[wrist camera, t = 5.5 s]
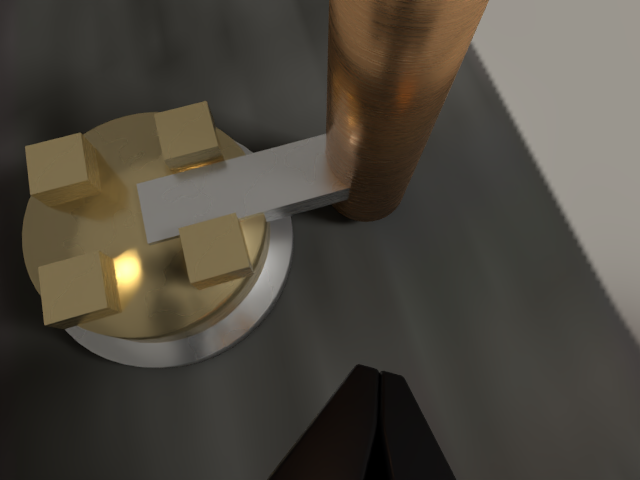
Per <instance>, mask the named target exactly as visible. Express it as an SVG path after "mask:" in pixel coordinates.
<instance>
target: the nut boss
mask: <svg viewBox="0 0 640 480" xmlns="http://www.w3.org/2000/svg"><path fill="white" fill-rule="evenodd" d="M235 142H236V141H235ZM236 143H237V144H238V145H239V146H240V147H241V148H242V150H243V151H244V152H245V154H246V155H248V154H252V153H253V152H251V151H250V150H249V149H247V148H246V147H245V146H243V145H241V144H239V143H238V142H236ZM270 231H271V232H270V245H269V250H268V255H267V259H266V262H265V264H264V267H263V270H262V272H261V274H260V276H259V278H258V280H257V282H256V284H255V286H254V287H253V288H252V290H251V291H250V293H249V294H248V296H247V297H246V298H245V299H244V300H243V302H242V303H241V304H240V305H239V306H238V307H237V308H236V309H235V310H234V311H233V312H231V313H230V314H229V315H228V316H227V317H226V318H224V319H223V320H221V321H220V322H218V323H217V324H216V325H214V326H212V327H210V328H208V329H207V330H205V331H203V332H201V333H198V334H196V335H193V336H190V337H188V338H185V339H180V340H176V341H172V342H163V343H139V342H133V341H128V340H123V339H119V338H114V337H110V336H106V335H101V334H98V333H94V332H91V331H88V330H85V329H83V328H81V327H79V326H74V327H71V328H67V329H65V330H66V332H67V333H68V334H70V335H71V336H72V337H73V338H74V339H75V340H76V341H77V342H78V343H80V344H81V345H82V346H84V347H85V348H87V349H88V350H90V351H91V352H93V353H95V354H97V355H99V356H101V357H104V358H106V359H108V360H111V361H115V362H118V363H121V364H125V365H131V366H138V367H146V368H175V367H184V366H189V365H192V364H196V363H200V362H203V361H206V360H208V359H211V358H214V357H216V356H218V355H220V354H222V353H224V352H226V351H227V350H229V349H231V348H233V347H234V346H236V345H237V344H239V343H240V342H241V341H243V340H244V339H245V338H247V337H248V336H249V335H250V334H251V333H252V332H253V331H254V330H255V329H256V328H257V327H259V326H260V324H261V323H262V322H263V321H264V320H265V318H266V317H267V316H268V315H269V314H270V312H271V311H272V309H273V308H274V306H275V304H276V303H277V301H278V300H279V298H280V296H281V293H282V291H283V289H284V287H285V285H286V282H287V279H288V276H289V273H290V269H291V264H292V258H293V244H294V238H293V228H292V221H291V216H287V217H283V218H280V219H276V220H273V221H270Z"/></svg>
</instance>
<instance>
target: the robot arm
mask: <svg viewBox="0 0 640 480" xmlns="http://www.w3.org/2000/svg"><path fill="white" fill-rule="evenodd" d="M267 480H456V478H455V476H454V474H453V472H452V470H451V468H450V466H449V464H448V463H447V461H446V459H445V457H444V455H443V453H442V451H441V449H440V447H439V445H438V443H437V441H436V439H435V437H434V435H433V433H432V431H431V429H430V427H429V425H428V423H427V421H426V419H425V417H424V415H423V414H422V412H421V410H420V408H419V406H418V404H417V402H416V400H415V398H414V396H413V394H412V392H411V390H410V388H409V386H408V384H407V382H406V380H405V379H404V377H403V376H401V375H397V374H394V373H390V372H386V371H381V372H380V373H379V371H378V370H377V369H375V368H371V367H368V366H364V365H360V364H358V365H356V366H354V368H353V369H352V370H351V372H350V373H349V374H348V375H347V377H346V378H345V379H344V381H343V382H342V383H341V385H340V386H339V387H338V388H337V390H336V391H335V392H334V394H333V395H332V396H331V397H330V399H329V400H328V401H327V403H326V404H325V405H324V406H323V408H322V409H321V410H320V412H319V413H318V414H317V416H316V417H315V418H314V419H313V421H312V422H311V423H310V425H309V426H308V427H307V428H306V430H305V431H304V432H303V434H302V435H301V436H300V438H299V439H298V440H297V441H296V443H295V444H294V445H293V447H292V448H291V449H290V450H289V452H288V453H287V454H286V456H285V457H284V458H283V460H282V461H281V462H280V463H279V465H278V466H277V467H276V469H275V470H274V471H273V472H272V474H271V475H270V476H269V478H268V479H267Z"/></svg>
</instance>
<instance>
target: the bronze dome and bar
mask: <svg viewBox="0 0 640 480" xmlns="http://www.w3.org/2000/svg"><path fill="white" fill-rule="evenodd" d="M488 1H489V0H329V33H328V75H327V118H326V134H324V135H320V136H316V137H312V138H308V139H305V140H301V141H297V142H293V143H290V144H286V145H282V146H278V147H274V148H271V149H267V150H263V151H259V152H256V153H252V154H248V155H246V154H245V152H244V151H243V150H242V148H241V147H240V146H239V145H238V144H237V143H236V142H235V141H234V140H233V139H232V138H230V137H229V136H228V135H227V134H225V133H224V132H223V131H221V130H220V129H218V128H216V126H215V123H214V119H213V116H212V113H211V111H210V108H209V106H208V103H207V101H204V102H200V103H196V104H192V105H188V106H184V107H180V108H176V109H172V110H168V111H164V112H150V113H139V114H134V115H129V116H124V117H121V118H118V119H114V120H111V121H109V122H106V123H104V124H102V125H99V126H97V127H95V128H94V129H92V130H90V131H88V132H86V133H85V134H83V135H82V134H81V133H77V134H73V135H69V136H65V137H61V138H57V139H53V140H49V141H45V142H41V143H37V144H33V145H29V146H25V150H26V159H27V169H28V178H29V187H30V195H31V197H30V199H29V202H28V204H27V208H26V212H25V216H24V221H23V229H22V249H23V255H24V261H25V265H26V268H27V271H28V274H29V277H30V279H31V281H32V283H33V284H34V286H35V288H36V290H37V292H38V293H39V294H40V296H41V299H42V308H43V318H44V325H45V326H49V327H54V328H59V329H63V330H64V329H67V328H71V327H74V326H79V327H81V328H83V329H85V330H88V331H91V332H94V333H98V334H101V335H106V336H110V337H114V338H119V339H123V340H128V341H133V342H139V343H163V342H172V341H176V340H180V339H185V338H188V337H190V336H193V335H196V334H198V333H201V332H203V331H205V330H207V329H208V328H210V327H212V326H214V325H216V324H217V323H218V322H220V321H221V320H223V319H224V318H226V317H227V316H228V315H229V314H230V313H231V312H233V311H234V310H235V309H236V308H237V307H238V306H239V305H240V304H241V303H242V302H243V300H244V299H245V298H246V297H247V296H248V294H249V293H250V291H251V290H252V288H253V287H254V286H255V284H256V282H257V280H258V278H259V276H260V274H261V272H262V270H263V267H264V264H265V262H266V259H267V255H268V250H269V245H270V232H271V231H270V221H273V220H276V219H280V218H283V217H287V216H291V215H294V214H298V213H301V212H305V211H309V210H312V209H316V208H319V207H323V206H326V205H330V204H332V206H333V207H334V208H335V209H336V210H337V211H338V212H339V213H341V214H342V215H344V216H345V217H347V218H350V219H352V220H356V221H363V222H369V221H375V220H379V219H382V218H384V217H386V216H388V215H389V214H391V213H392V212H393V211H394V210H395V209H396V208H397V207H398V205H399V204H400V202H401V200H402V197H403V195H404V193H405V191H406V188H407V186H408V184H409V182H410V179H411V177H412V175H413V172H414V170H415V168H416V166H417V163H418V161H419V159H420V156H421V154H422V152H423V150H424V147H425V145H426V143H427V140H428V138H429V136H430V134H431V131H432V129H433V127H434V124H435V122H436V120H437V118H438V115H439V113H440V111H441V108H442V106H443V104H444V102H445V99H446V97H447V95H448V93H449V90H450V88H451V86H452V83H453V81H454V79H455V77H456V74H457V72H458V70H459V67H460V65H461V63H462V61H463V58H464V56H465V54H466V51H467V49H468V47H469V45H470V42H471V40H472V38H473V35H474V33H475V31H476V28H477V26H478V24H479V22H480V19H481V17H482V15H483V12H484V10H485V8H486V6H487V3H488Z"/></svg>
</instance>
